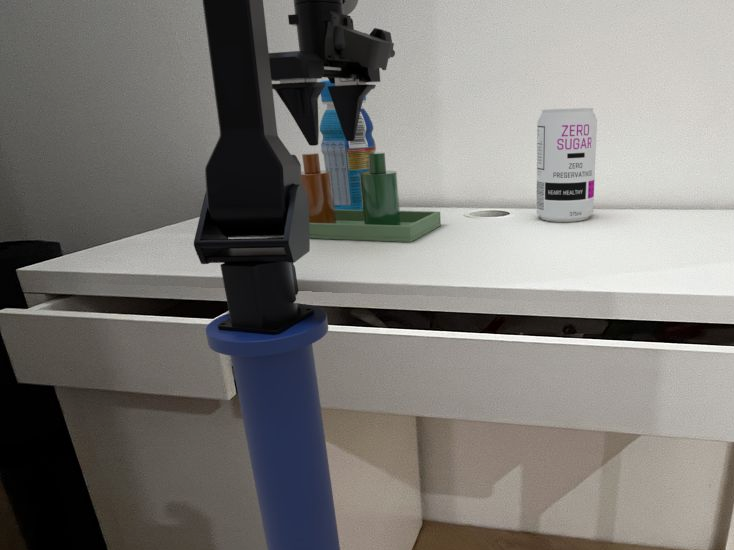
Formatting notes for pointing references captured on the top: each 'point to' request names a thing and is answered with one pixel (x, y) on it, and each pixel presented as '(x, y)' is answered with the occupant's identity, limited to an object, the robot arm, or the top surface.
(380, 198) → the green bottle
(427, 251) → the top surface
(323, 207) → the amber bottle near
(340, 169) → the beverage bottle
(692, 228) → the top surface
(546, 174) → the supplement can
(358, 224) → the tray
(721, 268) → the top surface
